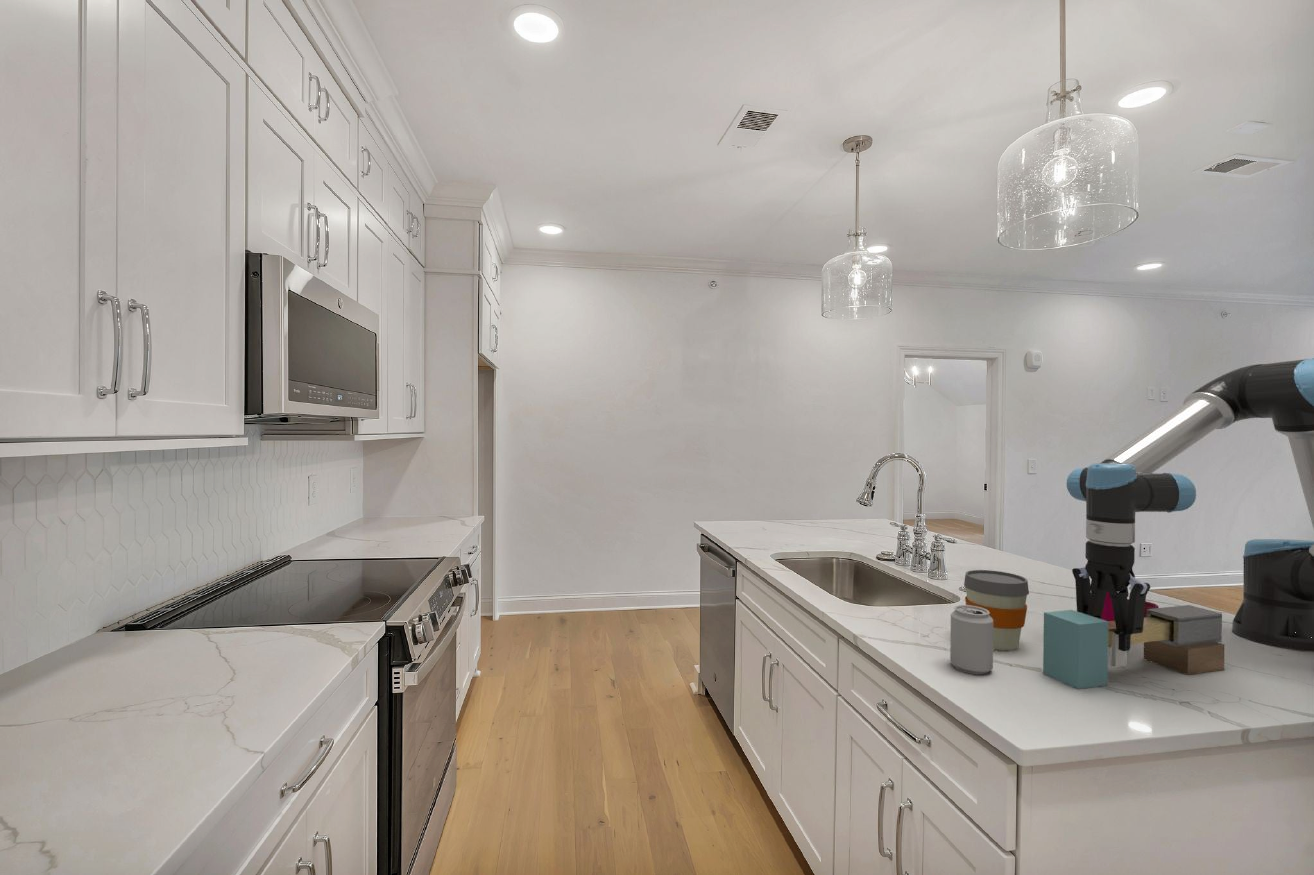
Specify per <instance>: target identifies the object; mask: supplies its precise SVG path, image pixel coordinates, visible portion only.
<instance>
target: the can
mask: <svg viewBox="0 0 1314 875" xmlns="http://www.w3.org/2000/svg"><path fill="white" fill-rule="evenodd" d="M953 608H954V610H953V611H952V612H951V613H950V644H949V645H950V651H949V652H950V654H949V655H950V657H949V658H950V659H949V660H950V662H951V664H952V665H953V666H954V667H955V668H956V669H957V670H958V671H961V672H964V673H968V674H972V675H985V674H988V672H991V671H992V670H993V668H994V649H993V619H992V618H991V617H990V615H989V614H990V612H989V611H988V610H986V609H984V608H981V607H977V606H971V605H966V604H959V605H955V606H954V607H953Z"/></svg>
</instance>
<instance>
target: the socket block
mask: <svg viewBox="0 0 1314 875" xmlns="http://www.w3.org/2000/svg"><path fill="white" fill-rule="evenodd" d="M1108 624H1109V622H1108V621H1105V620H1102V619H1099V618H1096V617H1093V616H1090V615H1086V614H1083V613H1080V612H1077V610H1074V609H1067V610H1066V609H1065V610H1056V611H1055V610H1054V611H1045V612H1043V647H1042V648H1043V652H1042V653H1043V654H1042V655H1043V656H1042V673H1043V674H1044V675H1046V676H1049V677H1051V678H1054V679H1055V680H1057V681H1060V682H1062V683H1063V684H1067V685H1068V686H1070V687H1072V688H1074V689H1078V690H1082V689H1090V688H1096V687H1104V686H1108V684H1109V683H1108V681H1109V680H1108V677H1109V671H1108V670H1109V667H1108V666H1109V647H1108Z"/></svg>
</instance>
